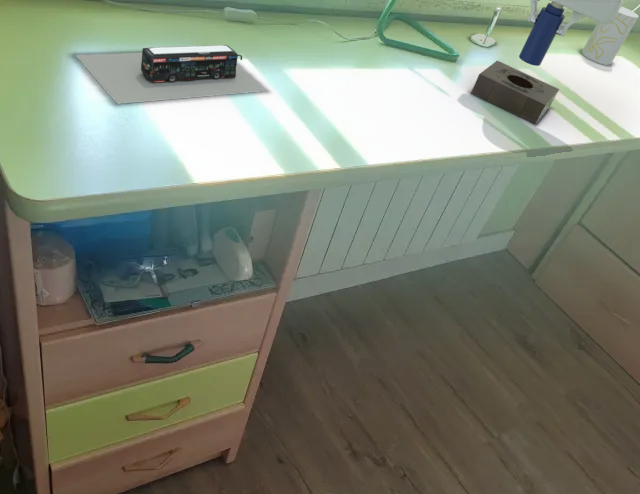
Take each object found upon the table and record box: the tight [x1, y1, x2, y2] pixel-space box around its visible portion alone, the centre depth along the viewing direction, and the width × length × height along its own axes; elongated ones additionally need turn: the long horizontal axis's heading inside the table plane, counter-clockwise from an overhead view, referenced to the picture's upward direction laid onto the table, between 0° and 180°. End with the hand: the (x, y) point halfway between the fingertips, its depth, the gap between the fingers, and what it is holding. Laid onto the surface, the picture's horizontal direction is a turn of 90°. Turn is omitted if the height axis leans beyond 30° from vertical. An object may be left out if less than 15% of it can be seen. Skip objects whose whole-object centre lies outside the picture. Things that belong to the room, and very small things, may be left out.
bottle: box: [518, 1, 565, 67], centre depth 113 cm, size 4×4×12 cm
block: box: [470, 60, 560, 125], centre depth 121 cm, size 14×12×4 cm
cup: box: [581, 5, 639, 66], centre depth 156 cm, size 8×8×12 cm
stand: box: [470, 6, 502, 48], centre depth 143 cm, size 8×5×8 cm
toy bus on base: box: [75, 44, 267, 105], centre depth 93 cm, size 14×25×4 cm, turn 127°
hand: (545, 28), depth 113 cm, fingers closed on bottle, 4 cm apart
